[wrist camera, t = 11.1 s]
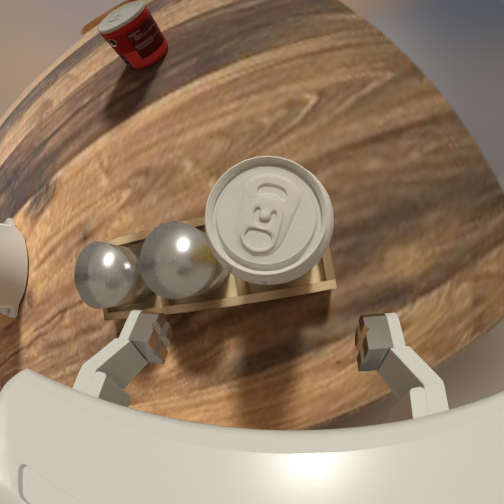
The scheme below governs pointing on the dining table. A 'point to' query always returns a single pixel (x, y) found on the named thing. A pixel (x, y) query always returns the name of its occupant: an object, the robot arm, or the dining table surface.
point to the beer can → (268, 220)
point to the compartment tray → (225, 285)
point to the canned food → (134, 35)
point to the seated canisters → (149, 268)
